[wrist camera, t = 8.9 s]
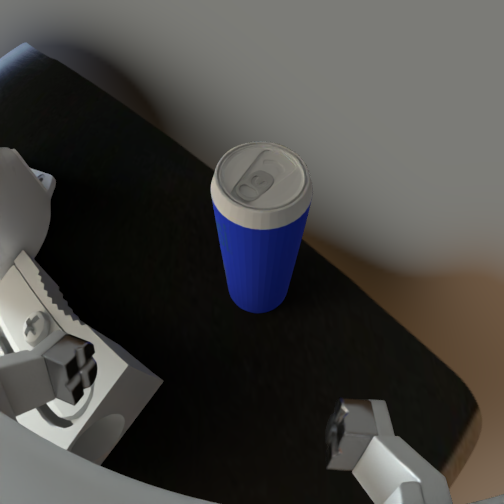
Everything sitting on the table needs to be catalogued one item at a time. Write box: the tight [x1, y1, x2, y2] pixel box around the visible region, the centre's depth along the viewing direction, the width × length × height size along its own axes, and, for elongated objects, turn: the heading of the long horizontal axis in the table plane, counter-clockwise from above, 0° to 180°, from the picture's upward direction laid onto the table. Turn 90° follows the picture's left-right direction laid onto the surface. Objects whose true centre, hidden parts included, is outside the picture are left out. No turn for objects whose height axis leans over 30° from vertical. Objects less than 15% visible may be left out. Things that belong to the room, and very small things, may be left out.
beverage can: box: [211, 141, 313, 313], centre depth 22 cm, size 5×5×15 cm
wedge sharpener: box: [0, 250, 163, 466], centre depth 22 cm, size 11×20×7 cm, turn 56°
